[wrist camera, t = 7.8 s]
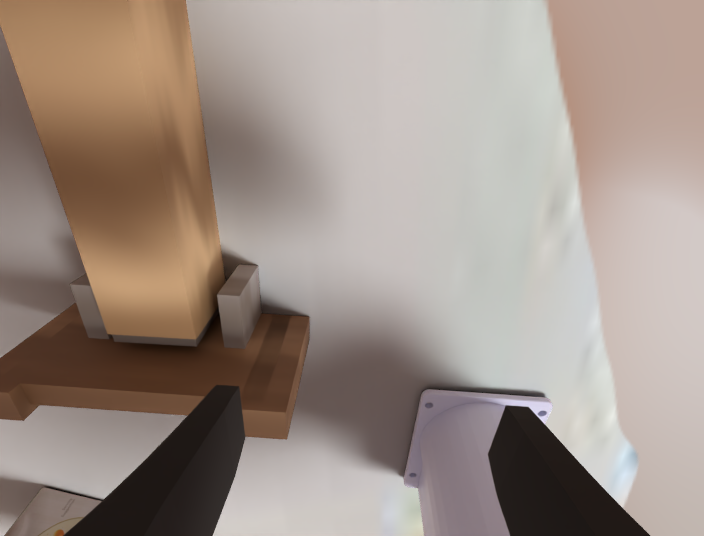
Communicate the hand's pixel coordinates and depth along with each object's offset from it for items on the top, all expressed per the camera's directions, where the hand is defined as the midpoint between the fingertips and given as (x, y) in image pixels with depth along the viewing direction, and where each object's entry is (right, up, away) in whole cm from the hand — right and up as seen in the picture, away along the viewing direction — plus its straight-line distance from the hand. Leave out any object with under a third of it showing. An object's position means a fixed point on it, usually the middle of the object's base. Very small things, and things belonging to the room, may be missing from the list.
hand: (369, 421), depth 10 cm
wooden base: (-9, +3, +10) cm, 14 cm away
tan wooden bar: (-9, +9, +6) cm, 14 cm away
